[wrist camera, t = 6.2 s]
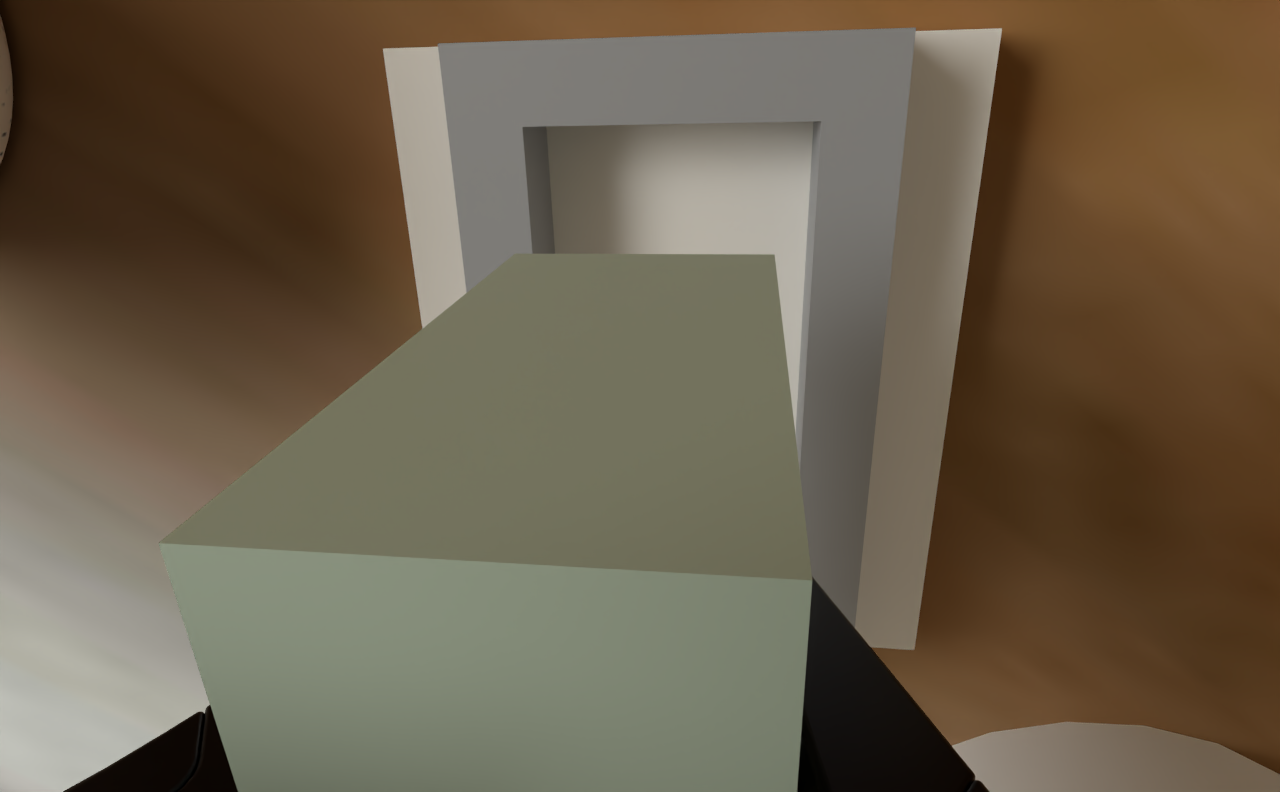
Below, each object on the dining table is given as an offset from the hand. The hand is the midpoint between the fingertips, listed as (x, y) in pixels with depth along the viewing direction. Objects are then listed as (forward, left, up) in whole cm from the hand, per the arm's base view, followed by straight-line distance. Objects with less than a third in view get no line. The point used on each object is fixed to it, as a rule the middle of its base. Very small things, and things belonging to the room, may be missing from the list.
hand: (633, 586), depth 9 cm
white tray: (0, 0, -8) cm, 8 cm away
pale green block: (0, 0, -2) cm, 2 cm away
